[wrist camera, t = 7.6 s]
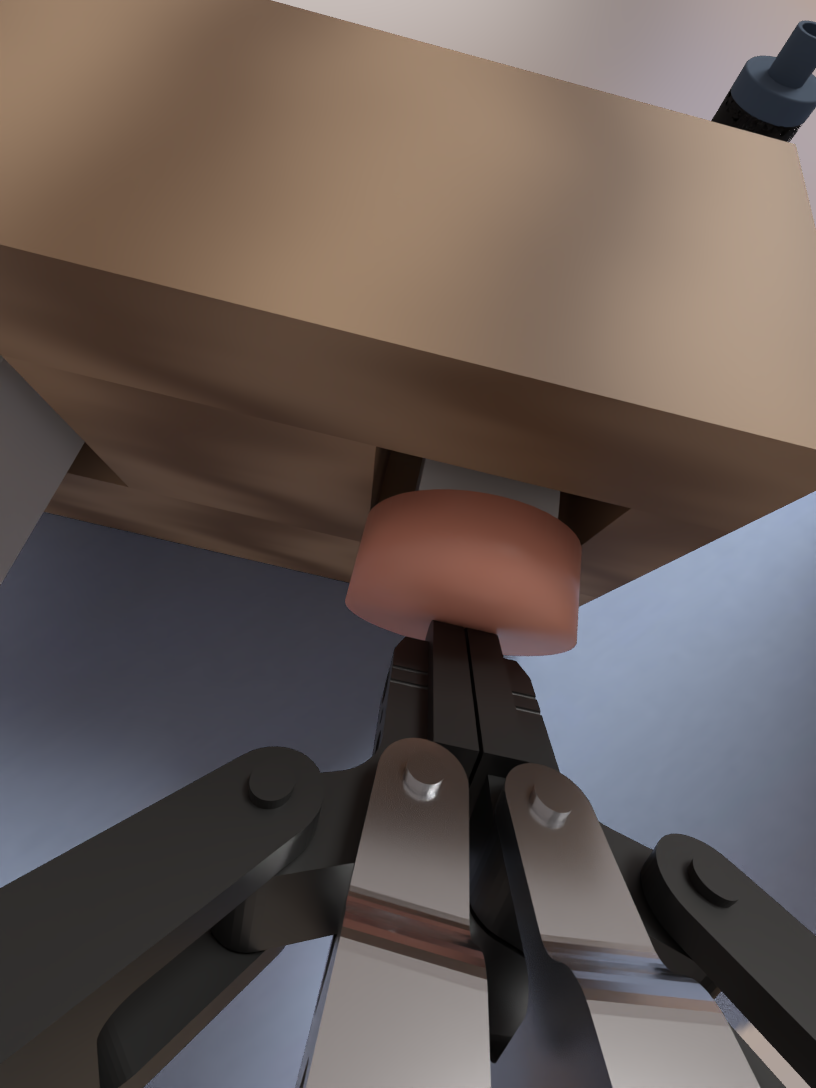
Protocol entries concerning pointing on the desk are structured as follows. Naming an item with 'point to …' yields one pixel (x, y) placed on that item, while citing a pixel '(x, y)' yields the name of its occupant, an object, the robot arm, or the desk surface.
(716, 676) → the desk surface
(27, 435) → the knob
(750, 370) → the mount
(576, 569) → the knob
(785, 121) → the vaping device
